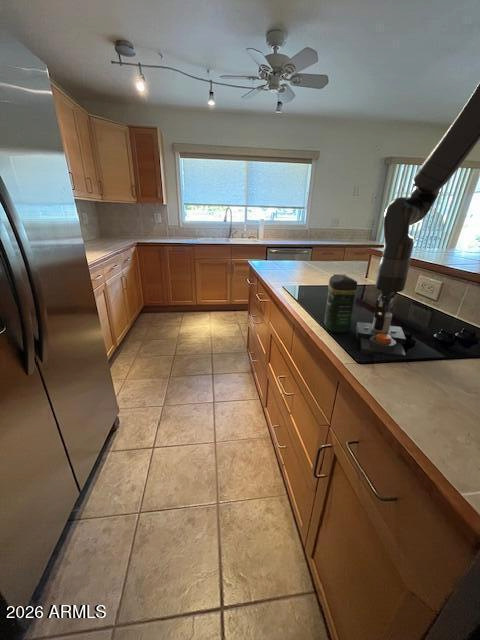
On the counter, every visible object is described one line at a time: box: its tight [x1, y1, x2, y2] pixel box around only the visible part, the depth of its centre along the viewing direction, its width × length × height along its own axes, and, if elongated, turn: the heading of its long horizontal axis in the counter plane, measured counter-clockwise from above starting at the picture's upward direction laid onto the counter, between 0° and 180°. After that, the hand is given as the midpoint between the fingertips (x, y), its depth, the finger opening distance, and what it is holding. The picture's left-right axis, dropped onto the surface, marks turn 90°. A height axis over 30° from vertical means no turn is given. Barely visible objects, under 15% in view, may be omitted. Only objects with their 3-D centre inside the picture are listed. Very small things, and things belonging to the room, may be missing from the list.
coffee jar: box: [323, 273, 358, 334], centre depth 88 cm, size 10×8×19 cm
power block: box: [359, 335, 407, 357], centre depth 76 cm, size 11×7×4 cm, turn 69°
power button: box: [376, 333, 391, 344], centre depth 75 cm, size 4×4×2 cm
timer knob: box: [372, 312, 393, 333], centre depth 81 cm, size 5×5×6 cm
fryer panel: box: [355, 321, 407, 345], centre depth 83 cm, size 13×9×3 cm
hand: (380, 326), depth 82 cm, fingers closed on timer knob, 5 cm apart
